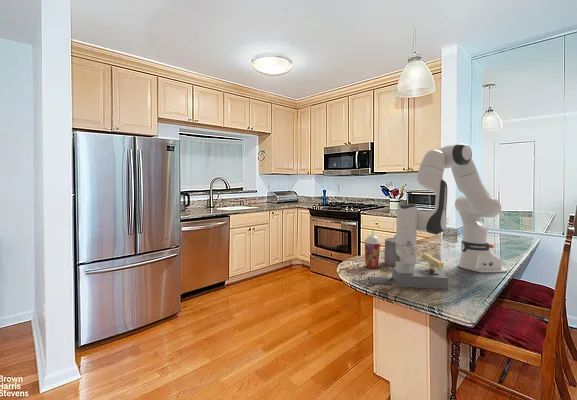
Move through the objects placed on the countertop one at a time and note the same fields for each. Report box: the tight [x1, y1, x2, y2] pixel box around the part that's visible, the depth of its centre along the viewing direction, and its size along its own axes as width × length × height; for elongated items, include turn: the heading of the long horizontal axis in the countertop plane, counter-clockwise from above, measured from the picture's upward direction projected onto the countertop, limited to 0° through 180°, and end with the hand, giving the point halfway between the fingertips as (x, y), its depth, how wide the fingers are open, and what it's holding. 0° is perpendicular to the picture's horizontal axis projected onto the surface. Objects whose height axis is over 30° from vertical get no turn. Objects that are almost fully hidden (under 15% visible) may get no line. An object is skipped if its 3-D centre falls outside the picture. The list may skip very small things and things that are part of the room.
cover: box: [394, 261, 416, 274], centre depth 139 cm, size 7×5×4 cm
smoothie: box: [364, 229, 382, 269], centre depth 161 cm, size 8×8×20 cm
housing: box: [391, 266, 450, 290], centre depth 138 cm, size 21×12×6 cm, turn 84°
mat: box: [367, 276, 392, 286], centre depth 140 cm, size 9×9×1 cm
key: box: [422, 253, 444, 273], centre depth 137 cm, size 16×2×7 cm, turn 179°
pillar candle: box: [383, 237, 400, 267], centre depth 168 cm, size 10×10×15 cm
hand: (404, 269), depth 139 cm, fingers closed on cover, 5 cm apart
